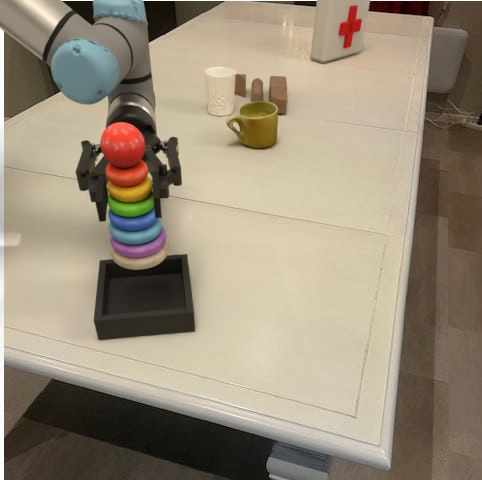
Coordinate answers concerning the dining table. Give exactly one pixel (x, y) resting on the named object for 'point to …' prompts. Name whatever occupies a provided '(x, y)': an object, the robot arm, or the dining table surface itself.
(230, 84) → the white cup
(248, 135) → the mug
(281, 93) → the wooden block set
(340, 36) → the bevelled white case
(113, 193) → the stacking toy
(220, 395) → the dining table surface
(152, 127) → the robot arm
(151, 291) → the socket pad
